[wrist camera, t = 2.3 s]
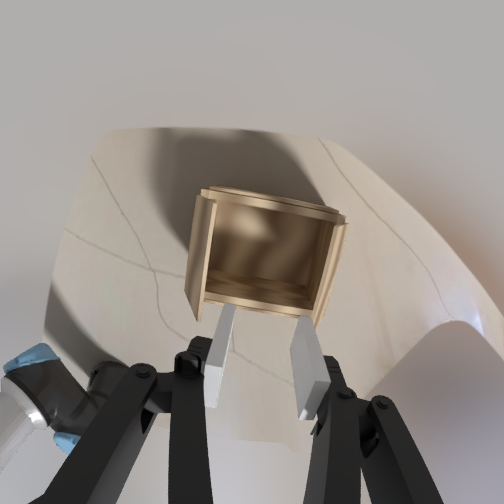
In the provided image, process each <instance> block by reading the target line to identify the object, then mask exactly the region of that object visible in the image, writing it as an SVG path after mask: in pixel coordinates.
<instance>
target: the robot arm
mask: <svg viewBox="0 0 504 504" xmlns="http://www.w3.org/2000/svg"><path fill="white" fill-rule="evenodd" d="M235 310H236V305H235V304H229V303H224V306H223V309H222V312H221V316H220V319H219V322H218V325H217V328H216V331H215V335H214V338H213V339H210V338H205V337H201V336H196V337H195V338H193V339H192V340H191V342H190V344H189V347H188V349H187V351H184V352H180V353H178V354H177V355H176V357H175V365H174V371H173V372H169V373H157V371H156V369H155V368H154V367H153V366H151V365H149V364H145V363H137V364H135V365H132V366H131V367H130V368H129V369H128V368H126V367H125V366H122V365H120V364H117V363H114V362H102V363H99V364H98V365H97V366H96V367H95V368H94V370H93V371H92V373H91V375H90V379H89V383H88V387H87V391H85V390H84V389H83V388H82V386H81V385H80V384H79V383H78V382H77V380H76V379H75V378H74V377H73V376H72V374H71V373H70V372H69V371H68V369H67V368H66V367H65V366H64V364H63V363H62V362H61V359H60V358H59V357H57V355H56V354H55V353H54V352H53V350H52V349H51V348H50V346H48V345H47V344H45V343H40V344H38V345H36V346H34V347H32V348H30V349H28V350H27V351H25V352H23V353H22V354H20V355H19V356H17V357H16V358H14V359H13V360H11V361H9V362H8V363H6V364H5V365H4V366H3V369H4V372H5V373H6V375H5V376H4V377H3V378H2V379H1V392H0V473H1V472H2V470H3V469H4V468H5V466H6V465H7V464H8V462H9V461H10V460H11V458H12V457H13V456H14V455H15V453H16V452H17V451H18V449H19V448H20V447H21V446H22V444H23V443H24V442H25V441H26V439H27V438H28V437H29V435H30V434H31V433H32V432H33V431H34V429H43V430H45V429H46V428H47V427H48V426H50V427H51V428H52V429H53V430H54V431H55V434H54V437H53V438H54V442H55V443H56V445H57V446H58V447H59V448H60V449H61V450H62V451H64V452H65V453H66V454H68V455H69V456H68V457H67V459H66V460H65V462H64V463H63V465H62V466H61V468H60V469H59V471H58V473H57V474H56V475H55V477H54V479H53V480H52V482H51V483H50V485H49V487H48V488H47V490H46V491H45V493H44V494H43V495H41V496H40V497H38V498H37V499H35V500H33V501H32V502H30V503H28V504H116V502H117V500H118V498H119V495H120V493H121V491H122V489H123V487H124V484H125V482H126V480H127V478H128V476H129V474H130V471H131V469H132V467H133V465H134V463H135V461H136V459H137V456H138V454H139V452H140V450H141V448H142V446H143V444H144V441H145V439H146V437H147V435H148V433H149V431H150V429H151V427H152V425H153V422H154V420H155V418H156V416H157V414H158V413H171V421H170V440H169V471H168V472H169V473H168V504H213V497H212V488H211V479H210V469H209V458H208V447H207V433H206V419H205V406H206V407H211V408H216V406H217V401H218V396H219V391H220V386H221V382H222V377H223V372H224V367H225V362H226V358H227V353H228V348H229V343H230V338H231V333H232V327H233V321H234V315H235ZM290 355H291V362H292V369H293V377H294V385H295V392H296V400H297V408H298V417H299V419H303V420H313V419H314V417H315V415H316V413H317V417H318V420H317V422H316V424H315V426H314V428H313V430H312V432H311V434H310V435H313V433H314V437H313V445H312V453H311V460H310V466H309V473H308V479H307V485H306V491H305V496H304V501H303V504H360V497H361V494H360V493H361V469H362V472H363V476H364V479H365V482H366V486H367V489H368V492H369V496H370V499H371V503H372V504H444V503H443V501H442V499H441V496H440V494H439V492H438V490H437V488H436V486H435V483H434V481H433V479H432V477H431V475H430V473H429V471H428V468H427V467H426V464H425V462H424V460H423V458H422V456H421V454H420V452H419V450H418V448H417V446H416V444H415V442H414V440H413V438H412V436H411V434H410V433H409V431H408V429H407V427H406V425H405V423H404V421H403V419H402V417H401V415H400V414H399V412H398V410H397V408H396V406H395V404H394V403H393V402H392V400H391V399H389V398H388V397H385V396H381V395H378V396H374V397H373V398H372V400H371V401H367V400H363V399H360V398H357V395H356V393H355V392H354V391H353V390H352V389H350V388H348V387H347V385H346V383H345V380H344V377H343V374H342V373H341V369H340V366H339V363H338V361H337V360H336V359H335V358H334V357H333V356H324V355H323V354H322V351H321V347H320V344H319V341H318V338H317V335H316V332H315V328H314V325H313V322H312V319H311V317H306V316H299V320H298V323H297V327H296V330H295V334H294V337H293V341H292V344H291V348H290Z"/></svg>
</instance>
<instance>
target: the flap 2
mask: <svg viewBox="0 0 504 504" xmlns="http://www.w3.org/2000/svg"><path fill="white" fill-rule="evenodd" d="M348 224H349V223H346V222H345V223H342V224H339V225H336V226H334V230H333V234H332V238H331V243H330V247H329V251H328V255H327V259H326V263H325V267H324V271H323V275H322V279H321V282H320V286H319V290H318V294H317V297H316V301H315V304H314V308H313V311H312V315H311V319H312V322H313V325H314V328H315V329H316V327H317V326H318V324H319V323H320V321H321V320H322V318H323V316H324V314H325V311H326V307H327V304H328V301H329V297H330V294H331V290H332V287H333V283H334V280H335V276H336V272H337V268H338V265H339V261H340V257H341V253H342V249H343V245H344V241H345V237H346V232H347V228H348Z"/></svg>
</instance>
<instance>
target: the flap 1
mask: <svg viewBox="0 0 504 504" xmlns="http://www.w3.org/2000/svg"><path fill="white" fill-rule="evenodd" d="M216 209H217V203H215V202H213V201H211V200H209V199H207V198H205V197H203V196H201V195H198V194H197V196H196V202H195V209H194V216H193V223H192V230H191V238H190V245H189V254H188V262H187V271H186V280H185V290H184V291H185V294H186V296H187V299H188V301H189V304H190V306H191V308H192V311H193V313H194V316H195V318H196V320H197V322H201V317H202V308H203V300H204V292H205V284H206V277H207V270H208V262H209V255H210V248H211V241H212V235H213V228H214V222H215V215H216Z"/></svg>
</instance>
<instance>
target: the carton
mask: <svg viewBox="0 0 504 504" xmlns="http://www.w3.org/2000/svg"><path fill="white" fill-rule="evenodd" d="M201 196H203V197H205V198H207V199H209V200H211V201H213V202H215V203H217V209H216V215H215V222H214V228H213V235H212V241H211V248H210V255H209V262H208V270H207V277H206V284H205V292H204V300H203V302H208V303H213V304H218V305H223V306H224V303H229V304H235V305H236V308H239V309H245V310H250V311H256V312H262V313H267V314H273V315H280V316H286V317H292V318H299V316H306V317H311V315H312V311H313V308H314V304H315V301H316V297H317V294H318V290H319V286H320V282H321V279H322V275H323V271H324V267H325V263H326V259H327V255H328V251H329V247H330V243H331V238H332V234H333V230H334V226H336V225H339V224H342V223H345V218H346V216H343V215H341V214H339V211H338V210H336V209H333V208H331V207H328V206H323V205H319V204H314V203H310V202H305V201H300V200H295V199H290V198H285V197H280V196H275V195H270V194H264V193H259V192H253V191H248V190H242V189H236V188H230V187H224V186H210V188H205V189H201Z"/></svg>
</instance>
